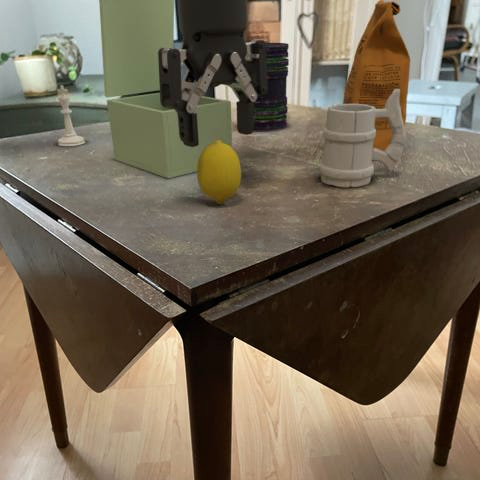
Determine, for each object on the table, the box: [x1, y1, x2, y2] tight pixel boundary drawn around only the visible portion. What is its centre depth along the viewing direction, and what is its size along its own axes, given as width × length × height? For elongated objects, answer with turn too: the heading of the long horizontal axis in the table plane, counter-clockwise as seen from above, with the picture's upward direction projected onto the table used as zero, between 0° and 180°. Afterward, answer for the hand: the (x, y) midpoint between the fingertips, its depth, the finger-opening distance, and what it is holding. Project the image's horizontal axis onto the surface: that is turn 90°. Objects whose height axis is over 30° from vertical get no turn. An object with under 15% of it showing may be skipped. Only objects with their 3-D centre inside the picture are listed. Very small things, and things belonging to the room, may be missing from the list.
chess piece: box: [56, 84, 86, 147], centre depth 98 cm, size 5×5×10 cm
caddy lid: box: [98, 0, 175, 99], centre depth 85 cm, size 16×13×5 cm
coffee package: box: [342, 0, 411, 151], centre depth 86 cm, size 10×12×22 cm
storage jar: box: [238, 42, 290, 132], centre depth 107 cm, size 10×10×15 cm
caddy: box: [106, 92, 233, 179], centre depth 86 cm, size 16×13×9 cm
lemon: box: [196, 140, 242, 205], centre depth 68 cm, size 6×6×8 cm
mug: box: [318, 89, 407, 188], centre depth 75 cm, size 8×12×12 cm, turn 95°
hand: (218, 139), depth 66 cm, fingers open, 8 cm apart
